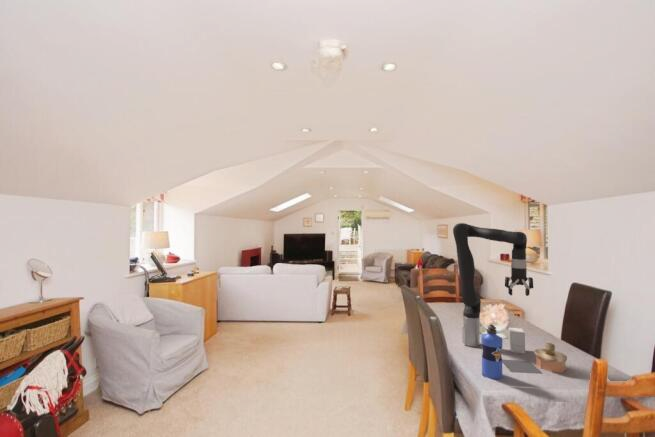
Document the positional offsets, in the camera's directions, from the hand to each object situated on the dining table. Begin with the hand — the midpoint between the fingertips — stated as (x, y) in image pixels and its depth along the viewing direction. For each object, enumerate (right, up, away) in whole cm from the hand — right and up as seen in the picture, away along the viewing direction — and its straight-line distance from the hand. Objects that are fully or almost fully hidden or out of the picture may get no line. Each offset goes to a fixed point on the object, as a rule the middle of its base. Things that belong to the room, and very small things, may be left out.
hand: (518, 295), depth 187 cm
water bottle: (-28, -34, -24) cm, 50 cm away
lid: (+7, -28, -16) cm, 33 cm away
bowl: (+7, -34, -16) cm, 38 cm away
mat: (-8, -34, -15) cm, 38 cm away
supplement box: (+2, -34, +6) cm, 35 cm away
